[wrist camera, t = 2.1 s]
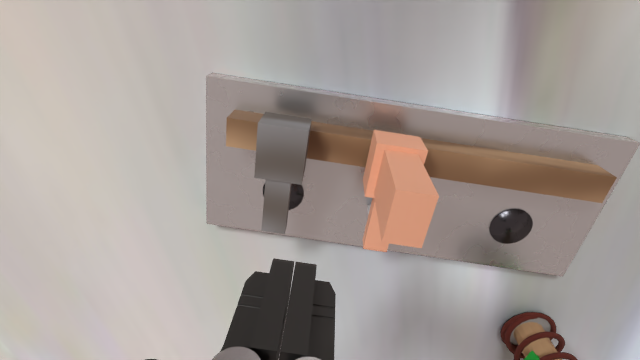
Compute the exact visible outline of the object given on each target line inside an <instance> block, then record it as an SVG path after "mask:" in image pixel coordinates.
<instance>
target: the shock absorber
mask: <svg viewBox="0 0 640 360" xmlns="http://www.w3.org/2000/svg"><path fill="white" fill-rule="evenodd" d="M501 338H502V341H503V342H504V343H505V344H506V346H507V348H508V349H509V351H510V352H512V353H513V354H514V360H520V358H523V359H524V360H562V359H568V360H577V359H576V357H575V356H573V355H572V354H569V353H565V352H561V351H562V349H563V348H564V345H565V341H564V339H563V337H562V336H561V335H559V334H557V333H556V325H555V322H554V321H553V320H552V319H551V318H550V317H549V316H547V315H545V314H543V313H537V312H526V313H522V314H519V315H516V316H514V317H512V318H511V319H509V320H508V321H507V322H506V323H505V324H504V325H503V327H502V329H501ZM553 338H555V339H557V340H558V341H559V342H558V345H557V346H556V347H554V345H553V344H552V342H551V340H552V339H553Z"/></svg>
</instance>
